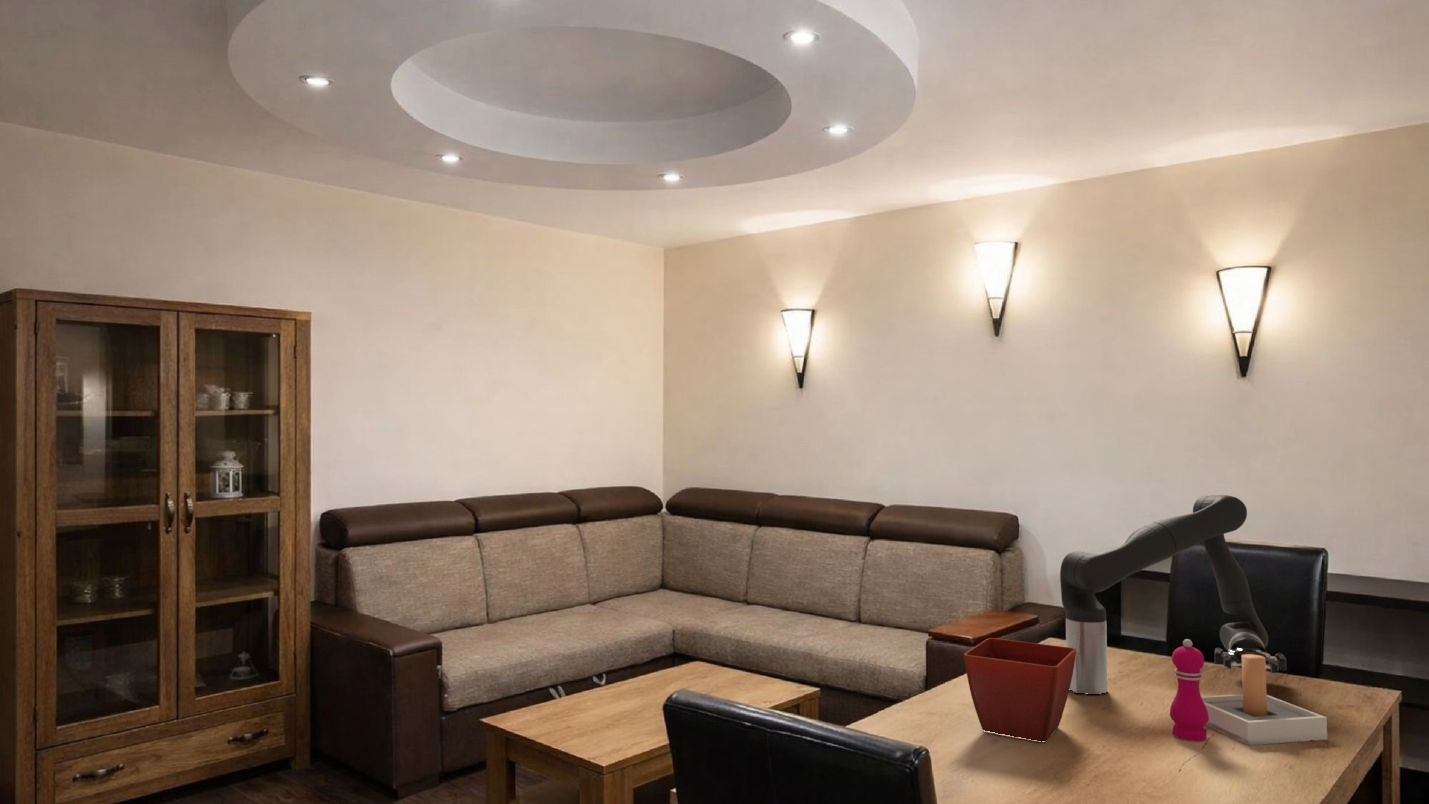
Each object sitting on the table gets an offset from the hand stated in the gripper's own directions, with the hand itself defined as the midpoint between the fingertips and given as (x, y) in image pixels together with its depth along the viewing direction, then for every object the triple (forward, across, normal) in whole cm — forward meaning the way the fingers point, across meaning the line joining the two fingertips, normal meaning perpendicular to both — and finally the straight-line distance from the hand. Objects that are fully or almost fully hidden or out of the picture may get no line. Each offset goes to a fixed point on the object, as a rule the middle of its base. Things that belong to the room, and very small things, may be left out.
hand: (1251, 666), depth 211 cm
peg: (+11, 0, +10) cm, 15 cm away
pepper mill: (+23, -12, +11) cm, 28 cm away
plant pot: (+33, -44, +11) cm, 57 cm away
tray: (+11, 0, +10) cm, 15 cm away
